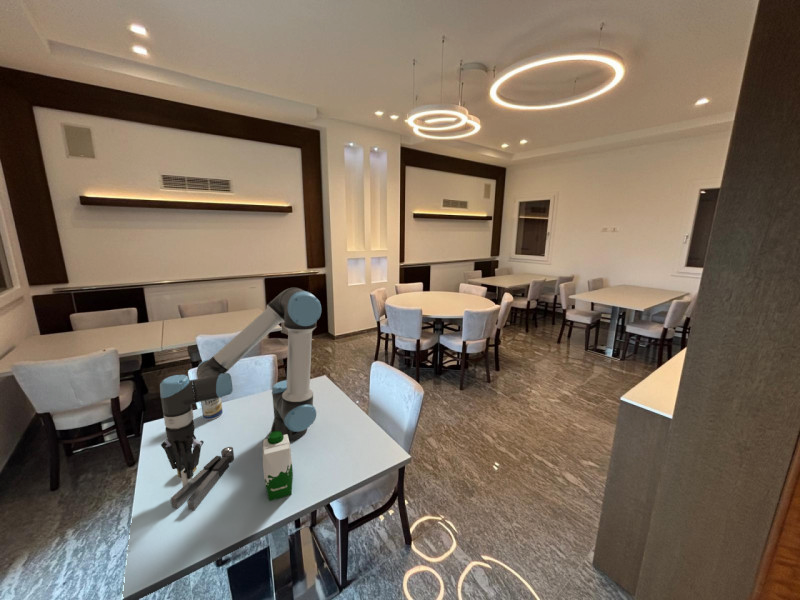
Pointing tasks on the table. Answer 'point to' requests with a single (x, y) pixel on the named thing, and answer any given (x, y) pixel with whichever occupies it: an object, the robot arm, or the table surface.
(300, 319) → the robot arm
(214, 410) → the beverage bottle
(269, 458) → the milk carton
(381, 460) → the table surface
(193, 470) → the block
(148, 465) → the table surface
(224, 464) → the base
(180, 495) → the tong arm
